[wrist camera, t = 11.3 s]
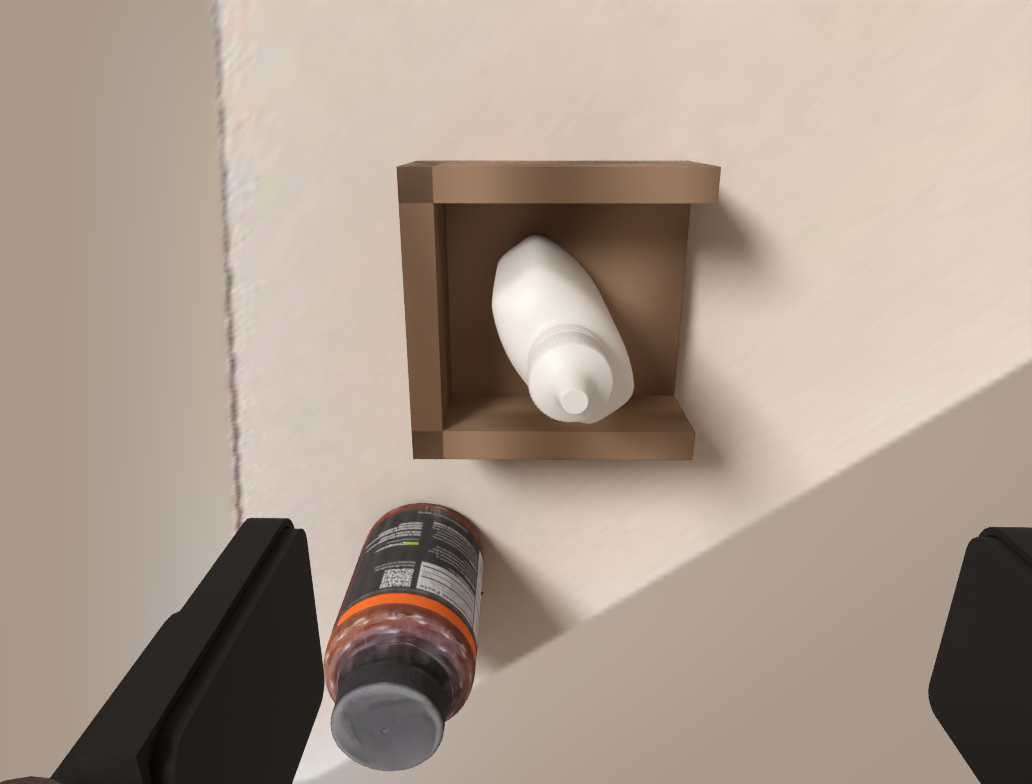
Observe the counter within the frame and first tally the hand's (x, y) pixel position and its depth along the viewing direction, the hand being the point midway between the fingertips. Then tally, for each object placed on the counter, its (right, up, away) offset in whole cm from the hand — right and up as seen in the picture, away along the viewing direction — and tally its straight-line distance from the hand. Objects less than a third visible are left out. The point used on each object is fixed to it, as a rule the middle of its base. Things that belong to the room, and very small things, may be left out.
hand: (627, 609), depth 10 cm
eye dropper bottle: (0, +7, +20) cm, 21 cm away
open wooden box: (0, +7, +20) cm, 22 cm away
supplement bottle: (-6, -5, +25) cm, 26 cm away
